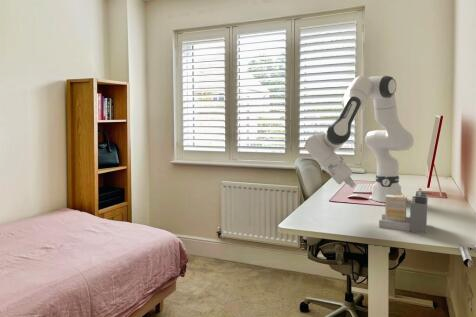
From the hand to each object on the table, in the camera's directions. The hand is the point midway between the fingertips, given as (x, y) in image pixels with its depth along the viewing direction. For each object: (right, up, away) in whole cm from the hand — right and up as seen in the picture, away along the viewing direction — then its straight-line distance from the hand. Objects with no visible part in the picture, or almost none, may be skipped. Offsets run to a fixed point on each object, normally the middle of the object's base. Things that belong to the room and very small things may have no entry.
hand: (354, 186), depth 168 cm
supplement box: (+16, -17, -6) cm, 24 cm away
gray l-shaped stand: (+18, -17, -8) cm, 26 cm away
